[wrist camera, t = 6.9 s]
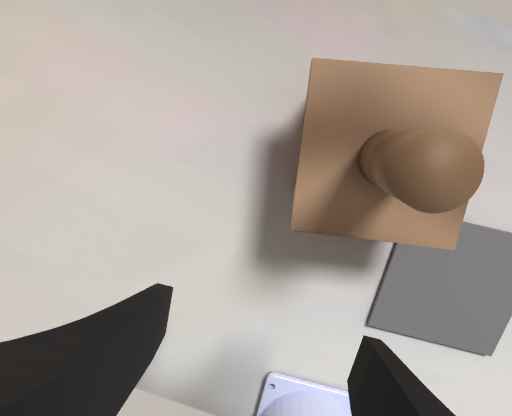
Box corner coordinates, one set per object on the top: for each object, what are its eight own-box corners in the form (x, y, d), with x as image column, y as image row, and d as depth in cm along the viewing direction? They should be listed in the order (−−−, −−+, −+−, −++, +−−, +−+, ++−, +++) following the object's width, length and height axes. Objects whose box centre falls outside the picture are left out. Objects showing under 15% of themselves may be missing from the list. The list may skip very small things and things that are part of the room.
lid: (446, 244, 16) (534, 306, 10) (290, 225, 16) (291, 274, 11) (491, 76, 14) (631, 38, 8) (311, 61, 14) (326, 16, 9)
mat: (488, 353, 21) (491, 356, 21) (366, 322, 22) (367, 325, 21) (544, 240, 19) (548, 242, 19) (408, 208, 19) (409, 209, 19)
